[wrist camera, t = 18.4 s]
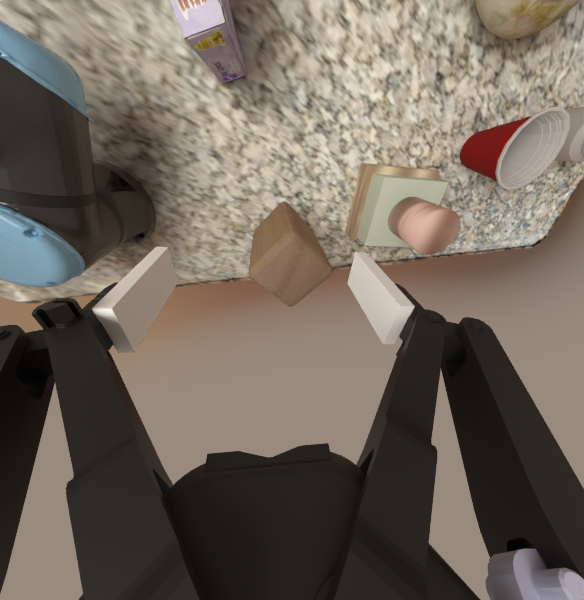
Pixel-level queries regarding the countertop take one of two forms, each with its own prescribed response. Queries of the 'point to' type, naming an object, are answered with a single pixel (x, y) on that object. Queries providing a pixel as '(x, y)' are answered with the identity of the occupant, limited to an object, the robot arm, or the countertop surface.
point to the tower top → (385, 197)
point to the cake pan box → (212, 35)
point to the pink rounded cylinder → (423, 224)
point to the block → (287, 256)
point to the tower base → (364, 184)
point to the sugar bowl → (520, 15)
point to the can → (574, 138)
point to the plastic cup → (518, 148)
